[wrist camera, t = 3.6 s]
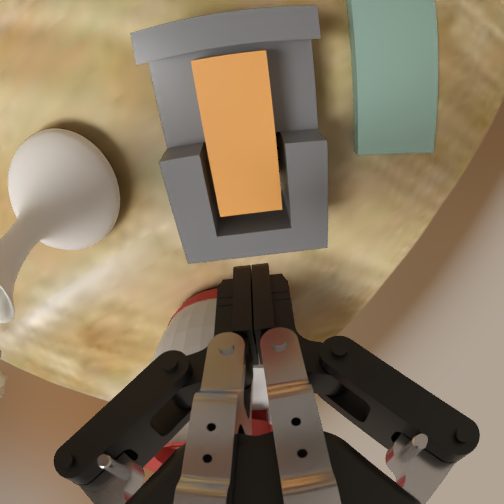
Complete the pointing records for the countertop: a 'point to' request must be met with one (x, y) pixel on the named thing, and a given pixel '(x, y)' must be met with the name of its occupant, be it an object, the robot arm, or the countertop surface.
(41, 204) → the flower in vase
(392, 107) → the mat
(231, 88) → the plank
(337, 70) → the countertop surface
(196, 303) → the citrus juicer
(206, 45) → the kitting block
